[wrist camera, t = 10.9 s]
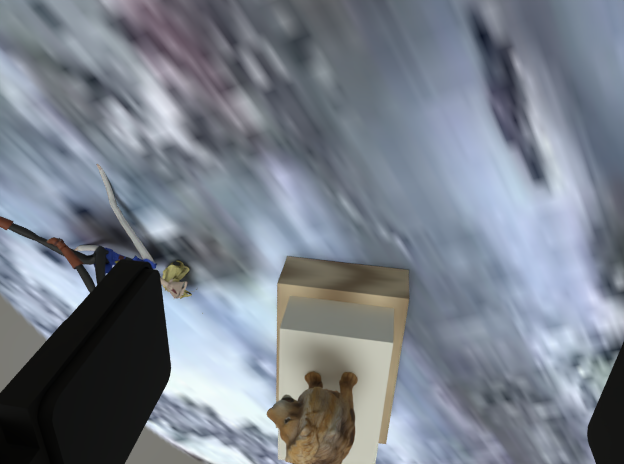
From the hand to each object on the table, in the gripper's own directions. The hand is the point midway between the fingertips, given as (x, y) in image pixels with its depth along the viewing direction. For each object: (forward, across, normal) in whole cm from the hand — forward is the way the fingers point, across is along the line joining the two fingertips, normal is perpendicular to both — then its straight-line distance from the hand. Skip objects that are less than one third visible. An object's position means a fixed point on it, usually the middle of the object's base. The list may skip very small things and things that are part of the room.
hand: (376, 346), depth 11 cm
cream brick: (+24, +2, +24) cm, 34 cm away
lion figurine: (+20, +3, +24) cm, 31 cm away
